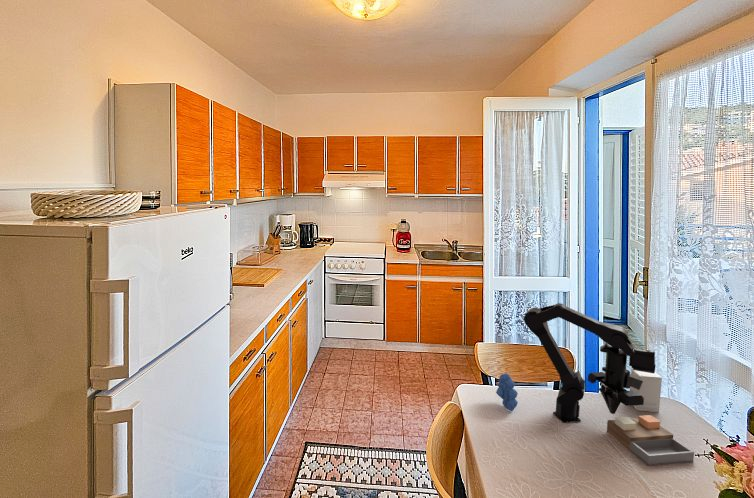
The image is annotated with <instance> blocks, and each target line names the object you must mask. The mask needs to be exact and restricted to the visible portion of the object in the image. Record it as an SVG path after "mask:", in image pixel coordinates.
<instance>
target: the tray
mask: <svg viewBox="0 0 754 498" xmlns="http://www.w3.org/2000/svg"><path fill="white" fill-rule="evenodd" d="M628 451H629V452H630V453H631V454H632V455H634V456H635V457H636V458H638V459H639V460H640V461H641V462H642V463H644V464H645V465H647V467H650V466H651V467H652V466H664V465H665V466H666V465H675V464H686V463H694V460H695V459H694V458H695V451H693V450H692V449H690V448H689V447H688V446H686V445H684V444H683V443H681V442H680V441H678V440H677V439H675V438H674V437H673V438H666V439H652V440H639V441H630V449H629V450H628Z"/></svg>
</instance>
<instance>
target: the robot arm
mask: <svg viewBox="0 0 754 498" xmlns="http://www.w3.org/2000/svg"><path fill="white" fill-rule="evenodd" d="M523 317H524V318H523V322H524V324H525V325H526V327H527V328H528V329H529V330H530V332H532V333H533V334H534V335H535V336H536V337H537V338H538V340H539V342H540V343H541V345H542V347H543V349H544V350H545V352H546V354H547V356H548V357H549V360H550V361H551V363H552V364H553V366H554V369H555V370H556V372H557V373H558V376H559V379H560V382H561V386H560V388H559V391H558V394H557V397H556V399H555V401H556V403H555V404H556V405H555V411H552V414H553V416H555V417H556V418H557V419H558V420H560V421H561V422H562V423H579V422H581V421H582V420H581V419H580V418H579V417H580V407H581V406H580V401H581V400H583V398H584V396H585V390H586V380H585V379H583V377H582V375H581V372H580V370H578V371H574V370H573V368H571V367H570V365H569V363H568V362H567V359H566V358H565V356H564V354H563V352H562V351H561V348H560V347H559V346H558V344H557V342H556V340H555V337H553V334H552V333H551V332H550V328H549V325H548V324H549V323H548V322H549V321H552V320H554V319H558V318H559V319H562V320H564V321H566V322H569V323H571V324H572V325H575V326H577V327H579V328H581V329H583V330H586V331H588V332H590V333H592V334H594V335H595V336H597V337H598V338H599V339H600V340H602V341H603V342H605V343H604V344H603V345H601V346H600V348H599V352H601V353H605V365H604V366H603V367H602V368H601V370H602V371H595V372H590V373H589V374H588V375H587V381H588V382H589V383H591V384H596V383H597V381H598V382H600V383H599V385H600V387H599V388H598V391H600V393H601V396H602V398H603V400H604V402H605V405H606V406H607V408H608V412H609V413H610V414H612V415H614V414H616V412H617V410H618V408H619V407H620V404H623V406H627V407H632V406H633V407H634V406H635V405H643V404H644V397H643V396H642V395H640V394H638V393H637V392H635V391H630V390H628V389H630V387H633V388H636V389H637V390H640V388H641V385H642V383H643V380H641V379H639V378H637V377H635V376H633V375H631V371H630V370H629V369H627V365H628V367H631V369H633V370H636V371H642V372H648V373H655V372H656V352H655V350H653V349H641V348H635V346H634V343H632V342H631V340H630V338H629V333H628V331H627V329H626V328H625V327H623V326H619V325H617V324H613V323H609V322H603V321H600V320H598V319H595V318H593V317H590V316H589V315H586V314H584V313H582V312H580V311H578V310H575V309H573V308H570V307H568V306H566V305H565V304H563V303H562V302H561V303H556V304H553V305H548V306H542V307H540V308H539V307H531V308H529V309H528V310H527V312H526V313H525V314H524V316H523ZM628 358H629V359H628ZM627 361H628V364H627Z"/></svg>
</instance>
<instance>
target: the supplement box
mask: <svg viewBox="0 0 754 498" xmlns="http://www.w3.org/2000/svg"><path fill="white" fill-rule="evenodd" d="M630 374H631V375H633V376H635V377H637V378H639V379H641V380H643V383H642V385H641V388H640V390H637V389H636V388H633V387H630V388H629V391H635V392H637V393H638V394H640V395H642V396H643V397H644V404H643V405H635V406H633V407H634V408H635V410H636V411H643V412H652V413H653V412H654V413H660V405H661V392H662V383H663V382H662V380H663V377H662V376H661V375H659V374H658V373H657V372H656V371H655V373H648V372H642V371H636V370H633V368H631V371H630Z"/></svg>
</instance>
